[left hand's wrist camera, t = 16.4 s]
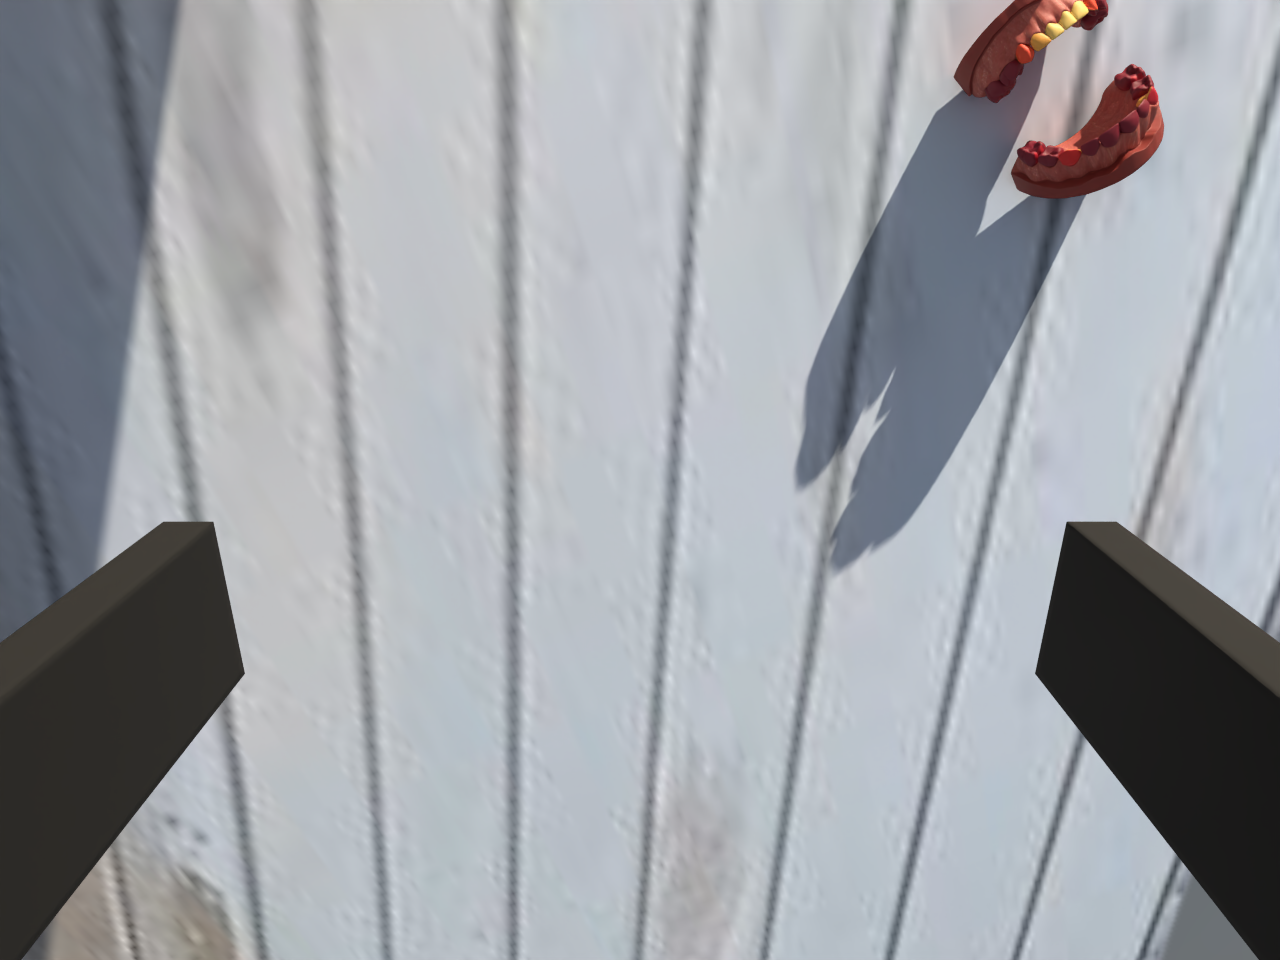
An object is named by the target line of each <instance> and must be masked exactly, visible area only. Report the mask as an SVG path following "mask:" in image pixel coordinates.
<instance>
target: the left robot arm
mask: <svg viewBox="0 0 1280 960" xmlns="http://www.w3.org/2000/svg"><path fill="white" fill-rule="evenodd" d="M244 674H245V672H244V667H243V663H242V658H241V653H240V648H239V643H238V639H237V634H236V629H235V624H234V619H233V614H232V610H231V605H230V600H229V595H228V590H227V585H226V581H225V576H224V571H223V566H222V561H221V557H220V552H219V547H218V542H217V537H216V532H215V528H214V523H213V522H163V523H161V524H160V525H159V526H157V527H156V528H154V529H153V530H152V531H150V532H149V533H148V534H146V535H145V536H144V537H142V538H141V539H140V540H138V541H137V542H136V543H134V544H133V545H132V546H130V547H129V548H128V549H126V550H125V551H123V552H122V553H121V554H119V555H118V556H117V557H115V558H114V559H113V560H111V561H110V562H109V563H107V564H106V565H105V566H103V567H102V568H101V569H99V570H98V571H97V572H95V573H94V574H92V575H91V576H90V577H88V578H87V579H86V580H84V581H83V582H82V583H80V584H79V585H78V586H76V587H75V588H74V589H72V590H71V591H70V592H68V593H67V594H66V595H64V596H63V597H61V598H60V599H59V600H57V601H56V602H55V603H53V604H52V605H51V606H49V607H48V608H47V609H45V610H44V611H43V612H41V613H40V614H39V615H37V616H36V617H35V618H33V619H32V620H31V621H29V622H28V623H26V624H25V625H24V626H22V627H21V628H20V629H18V630H17V631H16V632H14V633H13V634H12V635H10V636H9V637H8V638H6V639H5V640H4V641H2V642H1V643H0V960H21V959H22V958H23V957H24V955H25V954H26V953H27V952H28V950H29V949H30V948H31V946H32V945H33V944H34V943H35V941H36V940H37V939H38V937H39V936H40V935H41V934H42V932H43V931H44V930H45V929H46V927H47V926H48V925H49V923H50V922H51V921H52V920H53V918H54V917H55V916H56V914H57V913H58V912H59V911H60V909H61V908H62V907H63V905H64V904H65V903H66V902H67V900H68V899H69V898H70V897H71V895H72V894H73V893H74V891H75V890H76V889H77V888H78V886H79V885H80V884H81V882H82V881H83V880H84V879H85V877H86V876H87V875H88V874H89V872H90V871H91V870H92V868H93V867H94V866H95V865H96V863H97V862H98V861H99V859H100V858H101V857H102V856H103V854H104V853H105V852H106V851H107V849H108V848H109V847H110V845H111V844H112V843H113V842H114V840H115V839H116V838H117V836H118V835H119V834H120V833H121V831H122V830H123V829H124V827H125V826H126V825H127V824H128V822H129V821H130V820H131V819H132V817H133V816H134V815H135V813H136V812H137V811H138V810H139V808H140V807H141V806H142V804H143V803H144V802H145V801H146V799H147V798H148V797H149V796H150V794H151V793H152V792H153V790H154V789H155V788H156V787H157V785H158V784H159V783H160V781H161V780H162V779H163V778H164V776H165V775H166V774H167V772H168V771H169V770H170V769H171V767H172V766H173V765H174V764H175V762H176V761H177V760H178V758H179V757H180V756H181V755H182V753H183V752H184V751H185V749H186V748H187V747H188V746H189V744H190V743H191V742H192V741H193V739H194V738H195V737H196V735H197V734H198V733H199V732H200V730H201V729H202V728H203V726H204V725H205V724H206V723H207V721H208V720H209V719H210V717H211V716H212V715H213V714H214V712H215V711H216V710H217V709H218V707H219V706H220V705H221V703H222V702H223V701H224V700H225V698H226V697H227V696H228V694H229V693H230V692H231V691H232V689H233V688H234V687H235V686H236V684H237V683H238V682H239V680H240V679H241V678H242V677H243V675H244ZM1035 674H1036V675H1037V677H1038V678H1039V679H1040V680H1041V682H1042V683H1043V684H1044V686H1045V687H1046V688H1047V689H1048V691H1049V692H1050V693H1051V694H1052V696H1053V697H1054V698H1055V700H1056V701H1057V702H1058V703H1059V705H1060V706H1061V707H1062V709H1063V710H1064V711H1065V712H1066V714H1067V715H1068V716H1069V717H1070V719H1071V720H1072V721H1073V723H1074V724H1075V725H1076V726H1077V728H1078V729H1079V730H1080V732H1081V733H1082V734H1083V735H1084V737H1085V738H1086V739H1087V741H1088V742H1089V743H1090V744H1091V746H1092V747H1093V748H1094V749H1095V751H1096V752H1097V753H1098V755H1099V756H1100V757H1101V758H1102V760H1103V761H1104V762H1105V764H1106V765H1107V766H1108V767H1109V769H1110V770H1111V771H1112V772H1113V774H1114V775H1115V776H1116V778H1117V779H1118V780H1119V781H1120V783H1121V784H1122V785H1123V787H1124V788H1125V789H1126V790H1127V792H1128V793H1129V794H1130V796H1131V797H1132V798H1133V799H1134V801H1135V802H1136V803H1137V804H1138V806H1139V807H1140V808H1141V810H1142V811H1143V812H1144V813H1145V815H1146V816H1147V817H1148V819H1149V820H1150V821H1151V822H1152V824H1153V825H1154V826H1155V827H1156V829H1157V830H1158V831H1159V833H1160V834H1161V835H1162V836H1163V838H1164V839H1165V840H1166V842H1167V843H1168V844H1169V845H1170V847H1171V848H1172V849H1173V851H1174V852H1175V853H1176V854H1177V856H1178V857H1179V858H1180V859H1181V861H1182V862H1183V863H1184V865H1185V866H1186V867H1187V868H1188V870H1189V871H1190V872H1191V874H1192V875H1193V876H1194V877H1195V879H1196V880H1197V881H1198V882H1199V884H1200V885H1201V886H1202V888H1203V889H1204V890H1205V891H1206V893H1207V894H1208V895H1209V897H1210V898H1211V899H1212V900H1213V902H1214V903H1215V904H1216V906H1217V907H1218V908H1219V909H1220V911H1221V912H1222V913H1223V914H1224V916H1225V917H1226V918H1227V920H1228V921H1229V922H1230V923H1231V925H1232V926H1233V927H1234V929H1235V930H1236V931H1237V932H1238V934H1239V935H1240V936H1241V937H1242V939H1243V940H1244V941H1245V943H1246V944H1247V945H1248V946H1249V948H1250V949H1251V950H1252V951H1253V953H1254V954H1255V955H1256V957H1257V958H1258V959H1259V960H1280V643H1279V642H1278V641H1276V640H1275V639H1274V638H1272V637H1271V636H1270V635H1268V634H1267V633H1266V632H1264V631H1263V630H1262V629H1260V628H1259V627H1258V626H1256V625H1255V624H1254V623H1252V622H1251V621H1249V620H1248V619H1247V618H1245V617H1244V616H1243V615H1241V614H1240V613H1239V612H1237V611H1236V610H1235V609H1233V608H1232V607H1231V606H1229V605H1228V604H1227V603H1225V602H1224V601H1223V600H1221V599H1220V598H1219V597H1217V596H1216V595H1214V594H1213V593H1212V592H1210V591H1209V590H1208V589H1206V588H1205V587H1204V586H1202V585H1201V584H1200V583H1198V582H1197V581H1196V580H1194V579H1193V578H1192V577H1190V576H1189V575H1188V574H1186V573H1185V572H1183V571H1182V570H1181V569H1179V568H1178V567H1177V566H1175V565H1174V564H1173V563H1171V562H1170V561H1169V560H1167V559H1166V558H1165V557H1163V556H1162V555H1161V554H1159V553H1158V552H1157V551H1155V550H1154V549H1152V548H1151V547H1150V546H1148V545H1147V544H1146V543H1144V542H1143V541H1142V540H1140V539H1139V538H1138V537H1136V536H1135V535H1134V534H1132V533H1131V532H1130V531H1128V530H1127V529H1126V528H1124V527H1123V526H1121V525H1120V524H1119V523H1117V522H1067V523H1066V528H1065V532H1064V537H1063V542H1062V547H1061V552H1060V557H1059V561H1058V566H1057V571H1056V576H1055V581H1054V585H1053V590H1052V595H1051V600H1050V605H1049V610H1048V614H1047V619H1046V624H1045V629H1044V634H1043V639H1042V643H1041V648H1040V653H1039V658H1038V663H1037V667H1036V672H1035Z"/></svg>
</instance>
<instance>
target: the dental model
mask: <svg viewBox="0 0 1280 960" xmlns="http://www.w3.org/2000/svg"><path fill="white" fill-rule="evenodd" d="M1107 15H1108V4H1107V2H1106V0H1015V1H1014V2H1013V3H1012V4H1011V5H1010V6H1009V7H1007V8H1006V9H1005V10H1004V11H1003V12H1002V13H1001V14H1000V15H999V16H998V17H997V18H996V19H995V20H994V21H993V22H992V23H991V24H990V25H989V26H988V27H987V28H986V29H985V31H984V32H983V33H982V34H981V35H980V36H979V37H978V39H977V40H976V41H975V42H974V44H973V45H972V46H971V48H970V49H969V50H968V52H967V53H966V54H965V56H964V57H963V59H962V61H961V62H960V64H959V66H958V68H957V70H956V72H955V75H954V78H955V80H956V81H957V82H958V84H959V85H960V86H961V87H962V89H963V90H964V91H965V92H966V94H967V95H968V96H970V95H974V96H975V97H979V98H980V97H985V96H987V97H988V99H989V100H990V101H992V102H994V103H998V101H999V100H1000V99H1001V98H1003V97H1005V96H1007V95H1008V94H1009V93H1010V91H1011V90H1012V89H1013V88H1014V86H1015V84H1016V78H1017V76H1018V75H1021V74H1022V72H1023V67H1024V64H1025V63H1028V62H1031V61H1032V59H1033V57H1034V50H1036V51H1040V50H1041V49H1043V48H1044V47H1045V46H1047V45H1048V44H1049V43H1050V42H1051V40H1054V39H1055V38H1056V37H1058V36H1059V35H1060V34H1062V33H1063V32H1064V29H1065V30H1067V29H1068V28H1069V27H1071V26H1072V27H1082V28H1083V29H1085V30H1092V29H1093V28H1094V26H1095V25H1097V24H1098V23H1100V22H1102V21H1103V19H1104V18H1105V17H1107ZM1058 23H1059V24H1060V25H1061V26H1062V27H1063V28H1064V29H1063V28H1062V27H1061V26H1060V25H1059V24H1058ZM1045 33H1046V34H1045ZM1030 46H1032V47H1030ZM1163 132H1164V123H1163V119H1162V114H1161V111H1160V108H1159V101H1158V95H1157V92H1156V90H1155V88H1154V83H1153V81H1152V79H1151V77H1150V75H1147V76H1146V74H1145V72H1144V71H1143V70H1142V68H1141V67H1137V66H1136V65H1134V64H1131V65H1129V66H1128V67H1126V69H1125V70H1124V71H1123V72H1122V73H1120V74H1117V75H1116V76H1115V78H1114V81H1113V82H1112V83H1111V84H1110V85H1109V86H1108V87H1107V88H1106V90H1105V91H1104V93H1103V95H1102V99H1101V102H1100V104H1099V106H1098V108H1097V110H1096V111H1095V113H1094V115H1093V116H1092V118H1091V119H1090V120H1089V121H1088V123H1087V124H1086V125H1085V126H1084V127H1083V128H1082V129H1081V130H1080V131H1079V132H1078V133H1076V134H1075V135H1074V136H1072V137H1071V138H1070V139H1068V140H1067V141H1065V142H1063V143H1061V144H1059V145H1057V146H1051V145H1050V146H1047V147H1046V146H1045V145H1044V143H1042V142H1040V141H1038V142H1036V141H1028V142H1027V143H1026V145H1025V146H1024V147H1022V148H1019V149H1018V150H1017V154H1018V158H1017V160H1016V162H1015V164H1014V166H1013V169H1012V171H1011V175H1012V177H1013V180H1014V183H1015V185H1016V188H1017V189H1018V190H1019V191H1021V192H1024V193H1026V194H1029V195H1032V196H1035V197H1041V198H1069V197H1075V196H1081V195H1086V194H1089V193H1092V192H1095V191H1098V190H1101V189H1103V188H1106V187H1108V186H1110V185H1113V184H1115V183H1117V182H1119V181H1121V180H1122V179H1124V178H1126V177H1127V176H1129V175H1131V174H1132V173H1134V172H1135V171H1136V170H1138V169H1139V168H1140V167H1141V166H1142V165H1144V164H1145V163H1146V162H1147V161H1148V160H1149V159H1150V158H1151V156H1152V155H1153V154H1154V152H1155V151H1156V150H1157V148H1158V147H1159V145H1160V143H1161V141H1162V138H1163Z"/></svg>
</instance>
